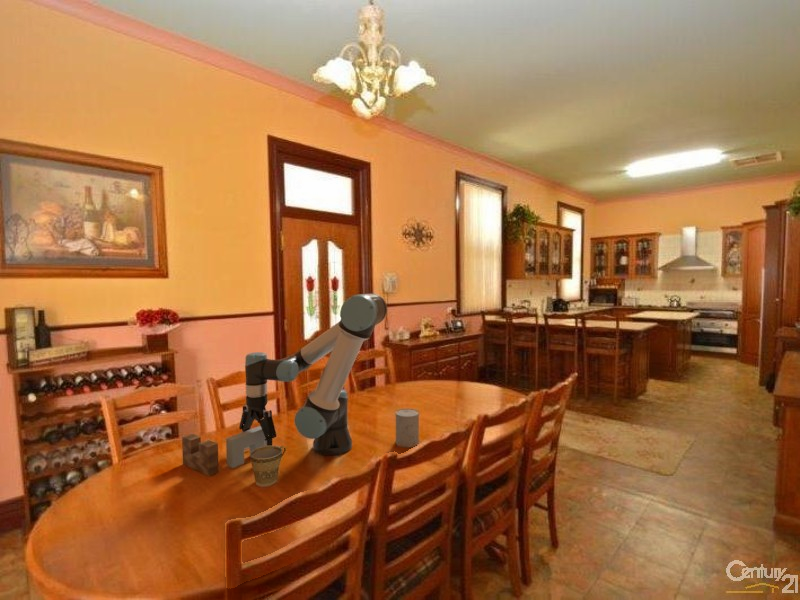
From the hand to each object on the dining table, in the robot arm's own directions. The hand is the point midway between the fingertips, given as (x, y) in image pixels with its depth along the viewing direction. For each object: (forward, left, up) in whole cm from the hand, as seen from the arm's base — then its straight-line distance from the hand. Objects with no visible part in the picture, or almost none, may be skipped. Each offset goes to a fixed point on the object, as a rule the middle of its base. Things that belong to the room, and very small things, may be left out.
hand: (257, 452), depth 150 cm
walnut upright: (+8, +18, -1) cm, 19 cm away
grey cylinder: (-41, -40, -1) cm, 58 cm away
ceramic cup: (-19, +10, -1) cm, 21 cm away
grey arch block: (0, +5, -1) cm, 5 cm away
